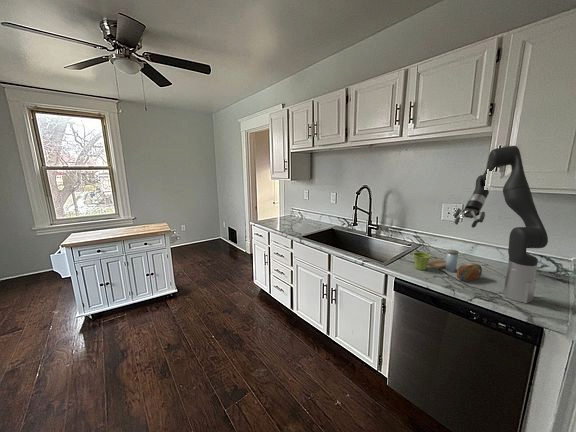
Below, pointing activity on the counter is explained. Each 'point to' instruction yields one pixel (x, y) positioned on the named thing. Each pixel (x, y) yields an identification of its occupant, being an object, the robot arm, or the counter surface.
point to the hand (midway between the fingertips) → (464, 225)
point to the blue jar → (451, 260)
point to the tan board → (437, 263)
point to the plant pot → (421, 260)
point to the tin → (469, 272)
